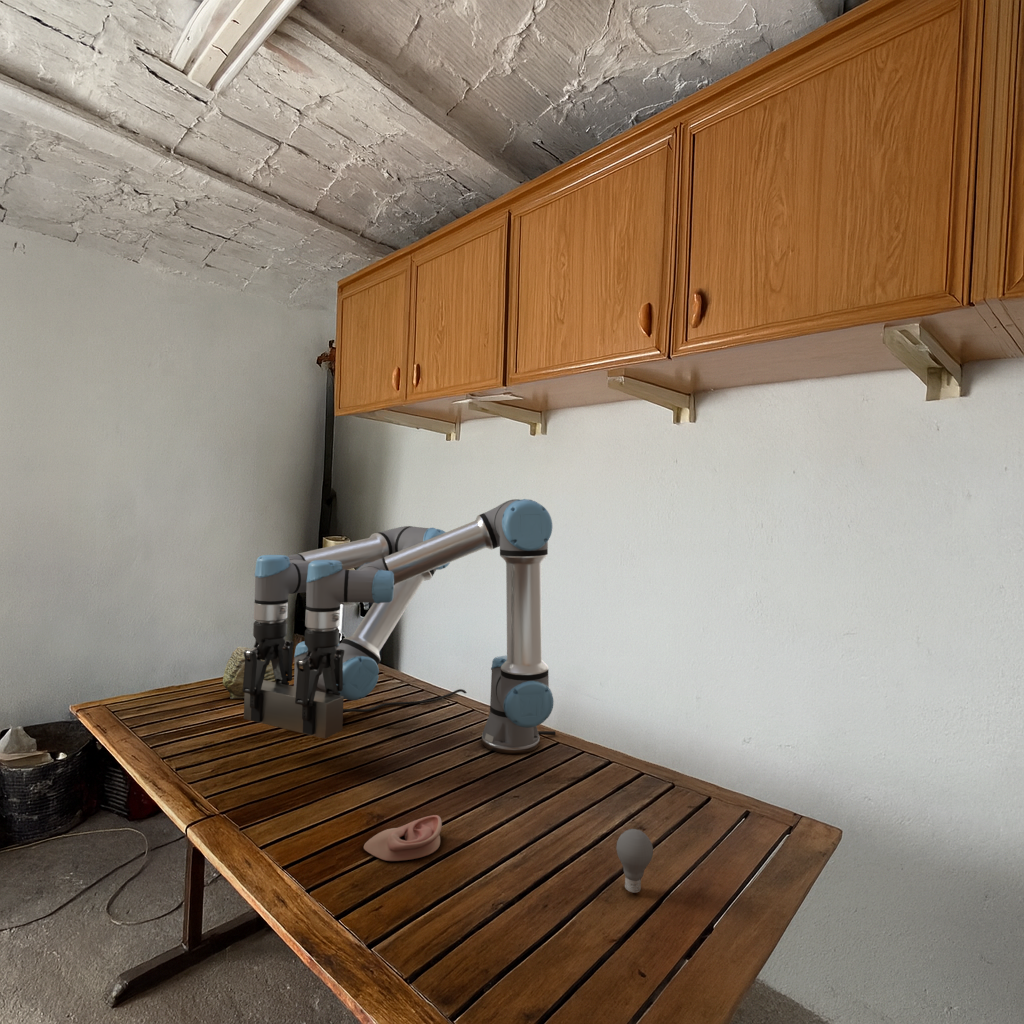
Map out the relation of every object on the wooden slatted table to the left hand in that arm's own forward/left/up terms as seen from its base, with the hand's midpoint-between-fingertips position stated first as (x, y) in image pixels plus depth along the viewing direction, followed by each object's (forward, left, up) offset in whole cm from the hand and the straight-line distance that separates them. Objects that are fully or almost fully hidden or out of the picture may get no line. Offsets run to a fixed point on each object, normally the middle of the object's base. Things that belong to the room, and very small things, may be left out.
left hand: (267, 716), depth 151 cm
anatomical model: (+3, +52, -10) cm, 53 cm away
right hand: (-4, +15, 0) cm, 16 cm away
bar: (-2, +8, 0) cm, 8 cm away
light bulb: (-14, +90, -10) cm, 92 cm away
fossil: (-23, -46, -10) cm, 53 cm away
